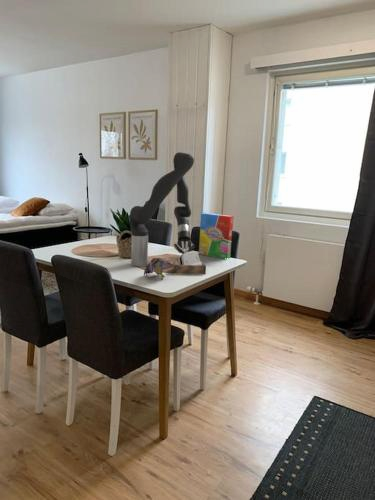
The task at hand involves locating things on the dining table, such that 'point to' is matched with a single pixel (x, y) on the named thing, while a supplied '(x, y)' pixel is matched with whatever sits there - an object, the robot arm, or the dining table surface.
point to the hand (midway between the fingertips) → (185, 258)
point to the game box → (215, 235)
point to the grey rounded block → (189, 259)
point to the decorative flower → (157, 266)
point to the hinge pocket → (189, 269)
